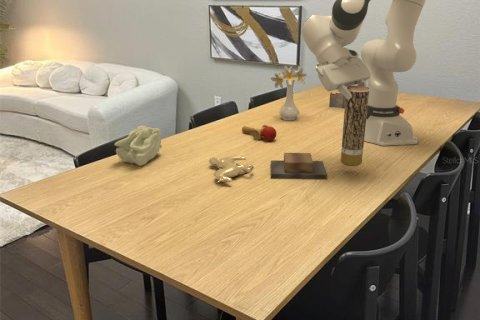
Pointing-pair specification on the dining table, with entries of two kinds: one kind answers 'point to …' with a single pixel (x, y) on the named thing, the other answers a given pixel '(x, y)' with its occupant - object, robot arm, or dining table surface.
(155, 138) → the folded clay sculpture
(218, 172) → the unicorn
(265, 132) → the kendama
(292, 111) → the flower vase
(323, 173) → the plinth
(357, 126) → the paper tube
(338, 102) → the ruin model on sheet
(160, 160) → the dining table surface
